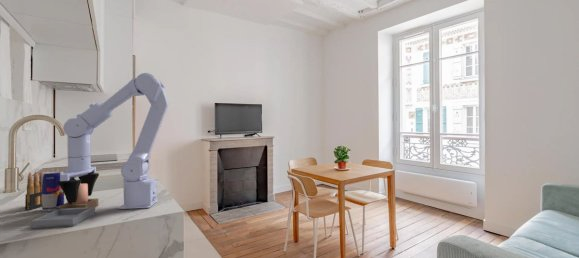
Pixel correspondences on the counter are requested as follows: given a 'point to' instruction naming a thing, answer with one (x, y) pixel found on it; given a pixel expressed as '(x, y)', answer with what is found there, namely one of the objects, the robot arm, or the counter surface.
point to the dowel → (82, 194)
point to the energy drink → (51, 191)
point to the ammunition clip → (34, 191)
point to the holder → (89, 204)
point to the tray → (63, 217)
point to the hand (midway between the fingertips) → (80, 198)
